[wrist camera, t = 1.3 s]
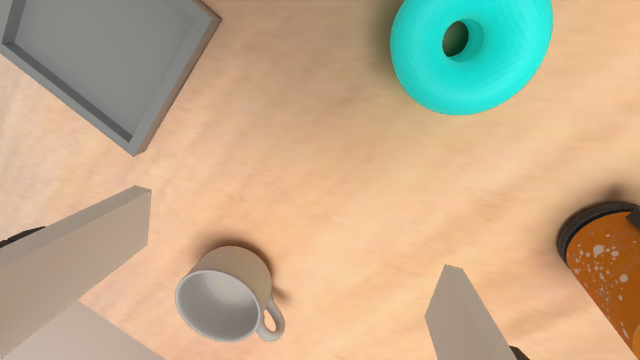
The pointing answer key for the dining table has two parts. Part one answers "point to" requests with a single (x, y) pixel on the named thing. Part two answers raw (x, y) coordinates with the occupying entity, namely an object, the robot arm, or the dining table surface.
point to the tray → (109, 57)
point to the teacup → (229, 297)
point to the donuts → (469, 51)
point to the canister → (608, 263)
